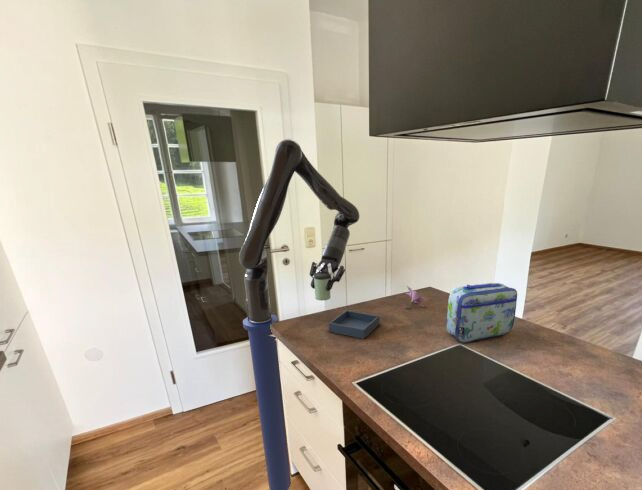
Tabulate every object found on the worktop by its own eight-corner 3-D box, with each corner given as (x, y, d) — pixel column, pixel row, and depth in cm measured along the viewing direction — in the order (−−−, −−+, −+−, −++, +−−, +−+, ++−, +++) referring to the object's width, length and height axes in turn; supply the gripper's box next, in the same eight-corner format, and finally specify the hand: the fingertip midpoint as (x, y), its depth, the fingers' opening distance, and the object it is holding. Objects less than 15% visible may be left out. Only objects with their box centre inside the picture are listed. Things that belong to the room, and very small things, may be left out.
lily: (426, 314, 163) (433, 294, 163) (403, 305, 160) (411, 285, 160) (416, 312, 175) (423, 294, 175) (395, 304, 172) (401, 285, 172)
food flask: (312, 299, 136) (310, 275, 133) (320, 294, 141) (319, 271, 138) (325, 301, 134) (324, 277, 130) (333, 296, 139) (332, 273, 135)
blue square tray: (329, 331, 143) (328, 322, 141) (346, 318, 155) (346, 310, 154) (363, 338, 137) (364, 329, 136) (379, 324, 150) (379, 315, 148)
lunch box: (455, 346, 133) (462, 292, 124) (441, 334, 142) (446, 283, 134) (514, 337, 140) (524, 286, 132) (497, 326, 149) (505, 278, 141)
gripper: (314, 243, 139) (299, 281, 134) (347, 247, 134) (333, 286, 129) (322, 254, 146) (308, 290, 141) (354, 258, 141) (340, 296, 135)
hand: (320, 288), depth 135 cm, fingers closed on food flask, 6 cm apart
